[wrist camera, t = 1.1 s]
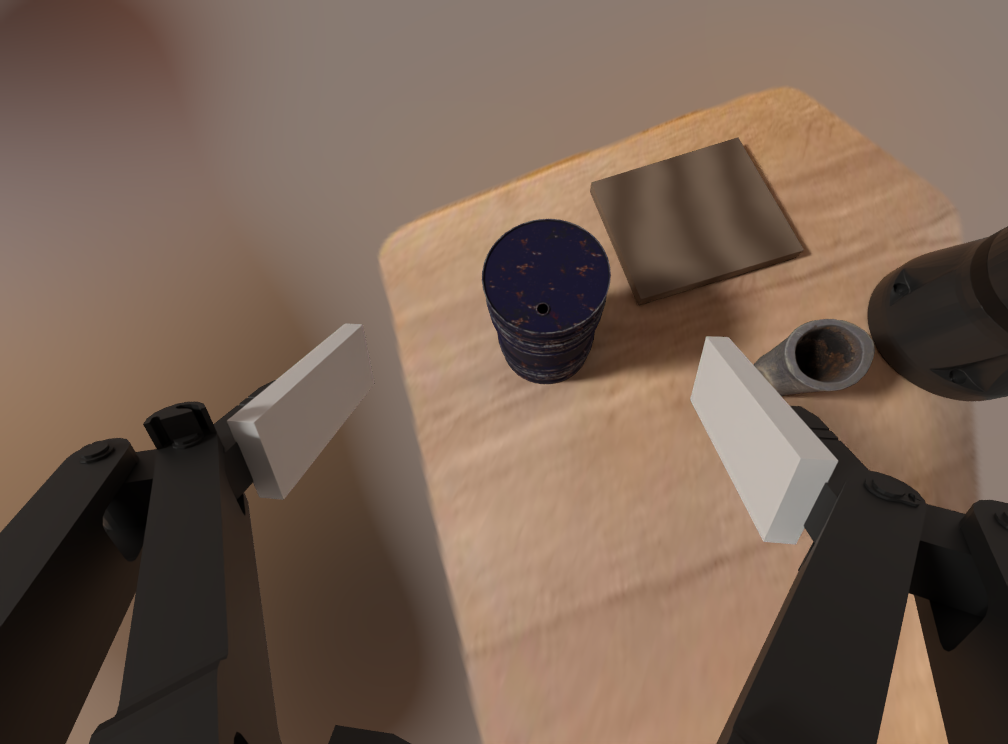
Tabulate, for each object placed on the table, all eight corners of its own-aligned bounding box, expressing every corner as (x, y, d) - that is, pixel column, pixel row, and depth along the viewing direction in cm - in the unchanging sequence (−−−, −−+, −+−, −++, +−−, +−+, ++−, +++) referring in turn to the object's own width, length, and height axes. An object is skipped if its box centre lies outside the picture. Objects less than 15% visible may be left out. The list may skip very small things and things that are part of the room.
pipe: (681, 382, 42) (711, 359, 34) (795, 337, 42) (851, 304, 34) (710, 437, 40) (749, 425, 32) (829, 390, 40) (896, 368, 33)
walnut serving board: (732, 147, 49) (738, 137, 47) (795, 257, 44) (804, 249, 43) (590, 191, 49) (591, 182, 48) (638, 305, 45) (641, 299, 43)
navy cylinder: (505, 299, 46) (487, 215, 32) (592, 302, 45) (613, 218, 31) (497, 382, 44) (473, 332, 30) (589, 388, 43) (610, 339, 28)
